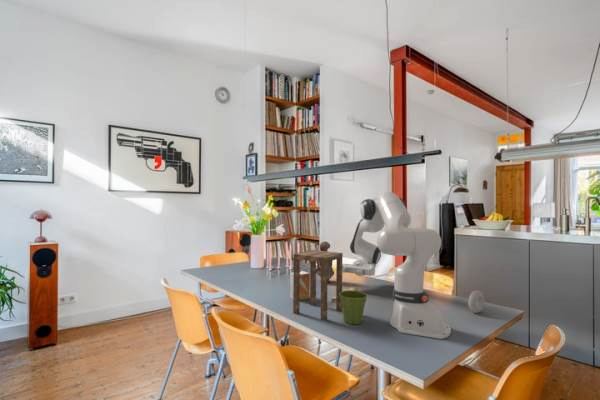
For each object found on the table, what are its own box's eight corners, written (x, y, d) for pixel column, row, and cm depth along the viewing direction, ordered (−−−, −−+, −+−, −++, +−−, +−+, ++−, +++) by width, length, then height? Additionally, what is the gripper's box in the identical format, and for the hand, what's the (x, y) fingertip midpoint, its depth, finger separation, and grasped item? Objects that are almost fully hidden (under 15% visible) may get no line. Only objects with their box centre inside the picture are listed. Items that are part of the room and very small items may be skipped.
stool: (342, 310, 146) (342, 253, 147) (324, 320, 133) (325, 257, 133) (312, 303, 155) (312, 249, 156) (293, 313, 142) (293, 254, 142)
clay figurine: (326, 279, 206) (327, 240, 206) (338, 282, 199) (338, 241, 199) (312, 282, 198) (312, 241, 198) (323, 285, 190) (323, 243, 191)
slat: (357, 292, 176) (357, 288, 176) (336, 303, 157) (336, 298, 157) (352, 291, 178) (352, 287, 178) (331, 302, 158) (331, 297, 158)
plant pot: (362, 329, 124) (362, 300, 125) (334, 323, 130) (334, 295, 130) (371, 319, 135) (371, 292, 135) (344, 314, 141) (345, 288, 141)
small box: (296, 301, 159) (296, 274, 160) (289, 297, 165) (290, 272, 165) (309, 298, 164) (310, 273, 164) (302, 295, 169) (303, 270, 169)
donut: (474, 316, 140) (474, 293, 140) (466, 313, 143) (466, 291, 143) (486, 311, 146) (486, 289, 146) (478, 309, 149) (478, 288, 149)
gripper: (343, 260, 189) (332, 263, 178) (377, 264, 178) (367, 268, 166) (343, 271, 189) (332, 275, 178) (377, 275, 178) (367, 280, 166)
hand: (349, 271), depth 172 cm, fingers open, 6 cm apart
